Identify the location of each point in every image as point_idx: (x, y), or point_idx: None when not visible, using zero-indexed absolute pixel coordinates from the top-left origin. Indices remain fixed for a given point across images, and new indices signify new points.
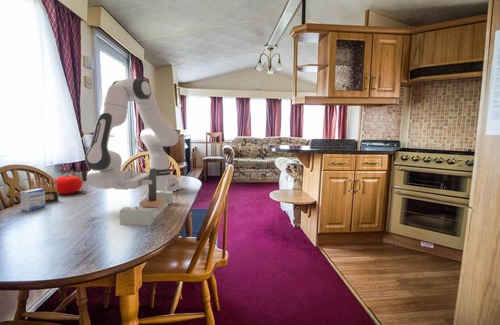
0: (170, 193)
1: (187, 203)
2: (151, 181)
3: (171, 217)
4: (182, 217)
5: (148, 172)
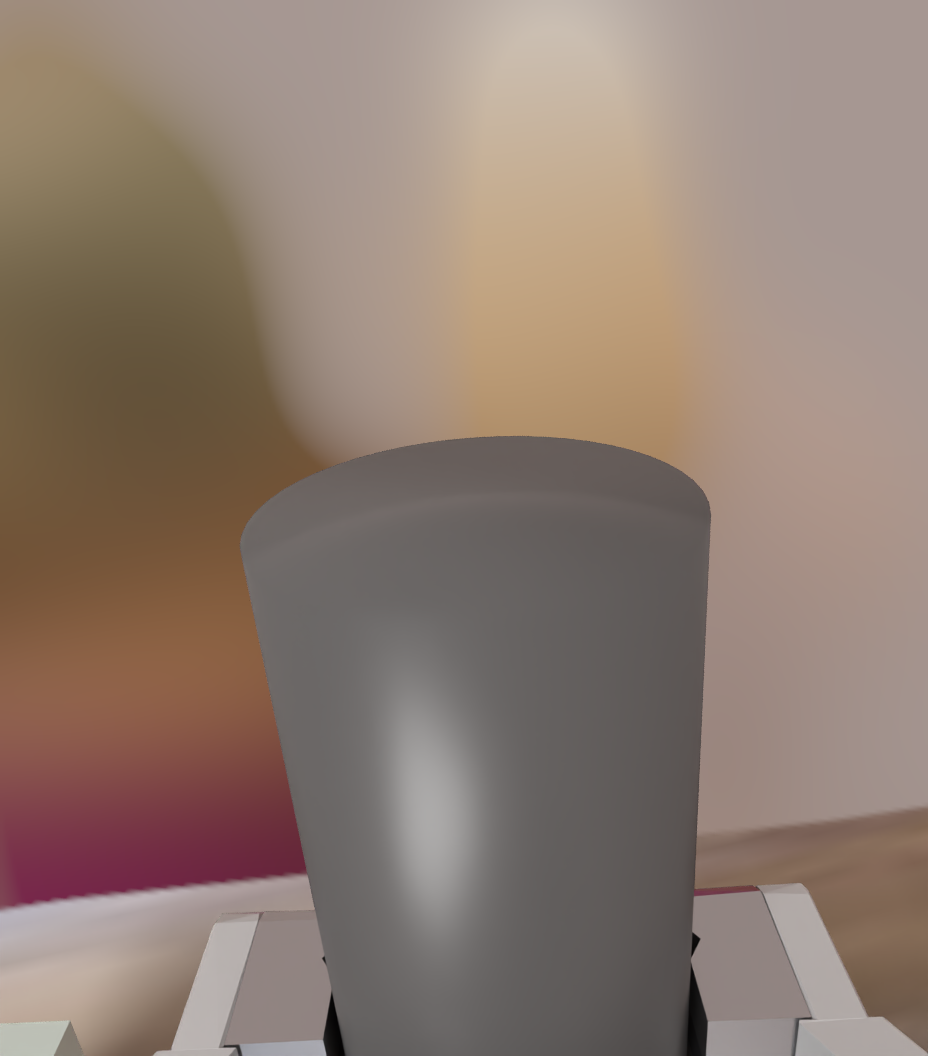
0: (67, 1034)
1: (123, 927)
2: (797, 906)
3: (847, 950)
4: (780, 833)
5: (658, 768)
